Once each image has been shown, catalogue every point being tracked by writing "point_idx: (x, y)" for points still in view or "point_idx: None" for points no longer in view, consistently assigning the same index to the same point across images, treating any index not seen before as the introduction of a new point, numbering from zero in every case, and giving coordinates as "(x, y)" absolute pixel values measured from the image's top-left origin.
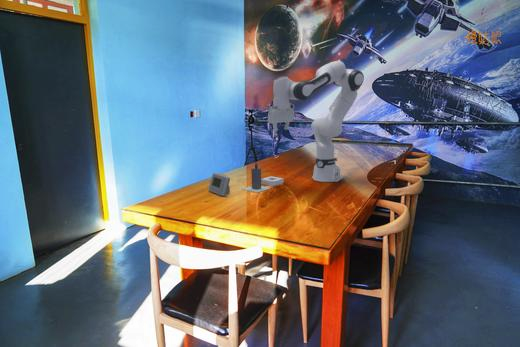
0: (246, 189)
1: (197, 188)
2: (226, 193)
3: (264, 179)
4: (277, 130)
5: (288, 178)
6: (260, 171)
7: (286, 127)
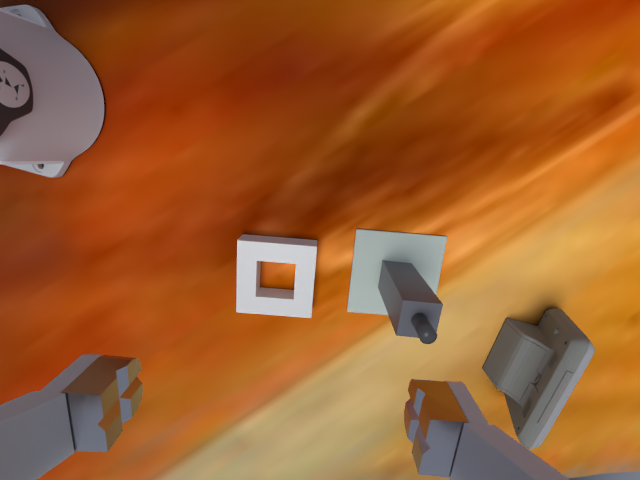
0: None
1: None
2: (522, 322)
3: (307, 301)
4: (431, 381)
5: (152, 263)
6: (404, 292)
7: (111, 385)
